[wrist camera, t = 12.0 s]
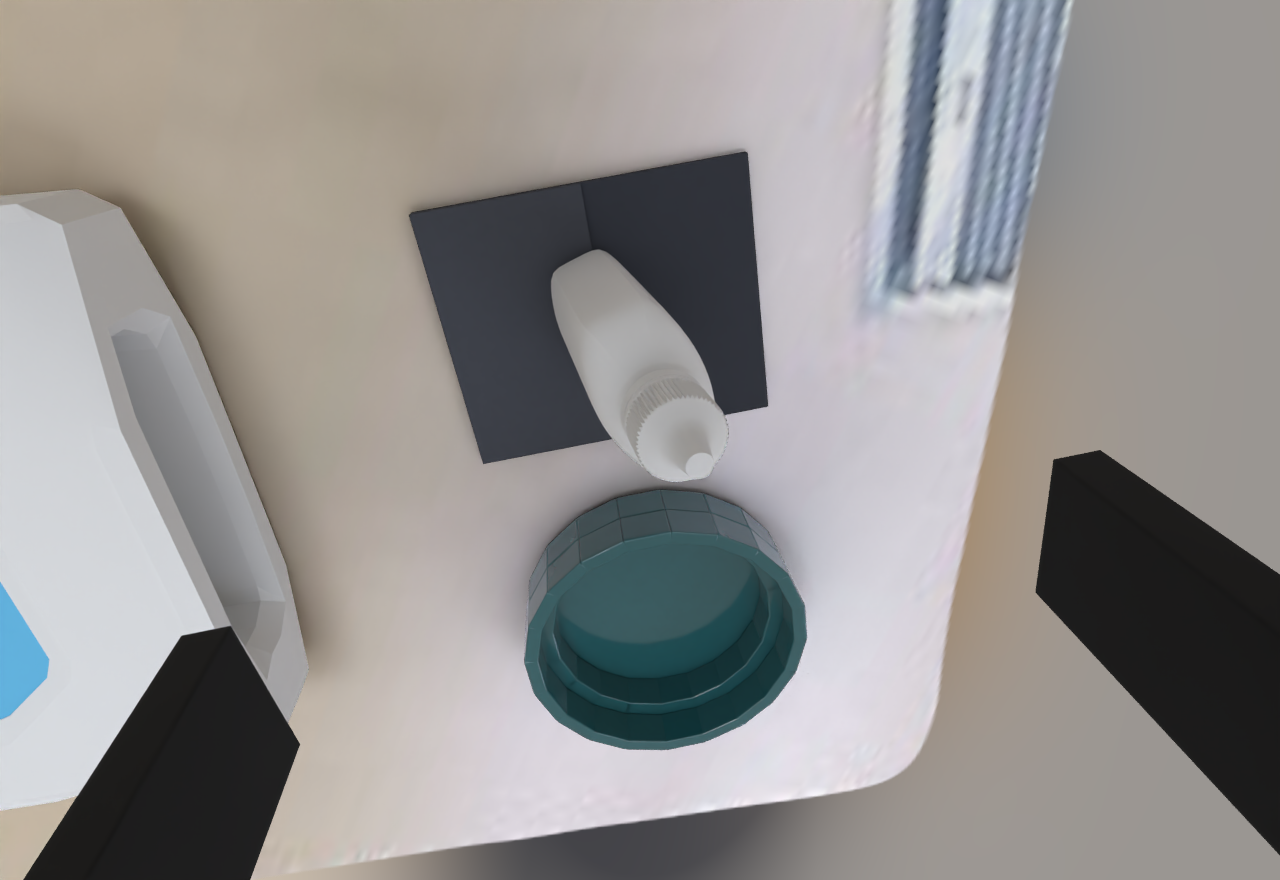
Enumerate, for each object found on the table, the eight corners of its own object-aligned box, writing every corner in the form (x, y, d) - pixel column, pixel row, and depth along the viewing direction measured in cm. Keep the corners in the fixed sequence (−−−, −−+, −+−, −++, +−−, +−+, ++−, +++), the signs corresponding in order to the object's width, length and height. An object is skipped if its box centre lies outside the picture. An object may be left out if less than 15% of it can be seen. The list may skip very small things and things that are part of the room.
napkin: (411, 212, 25) (408, 214, 24) (745, 151, 25) (749, 152, 25) (484, 458, 29) (483, 463, 29) (766, 403, 30) (769, 408, 29)
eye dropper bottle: (668, 249, 26) (807, 349, 16) (655, 391, 29) (769, 561, 18) (550, 244, 25) (614, 349, 15) (546, 392, 28) (599, 573, 17)
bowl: (499, 516, 31) (493, 566, 28) (773, 462, 31) (799, 505, 28) (557, 712, 36) (558, 773, 33) (789, 664, 37) (812, 720, 34)
